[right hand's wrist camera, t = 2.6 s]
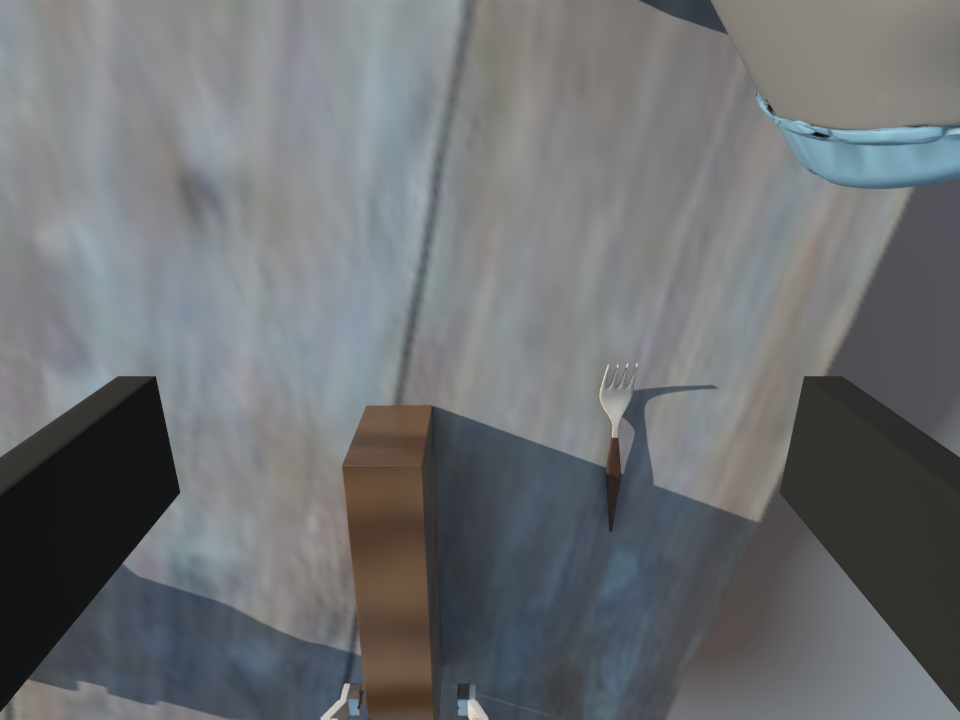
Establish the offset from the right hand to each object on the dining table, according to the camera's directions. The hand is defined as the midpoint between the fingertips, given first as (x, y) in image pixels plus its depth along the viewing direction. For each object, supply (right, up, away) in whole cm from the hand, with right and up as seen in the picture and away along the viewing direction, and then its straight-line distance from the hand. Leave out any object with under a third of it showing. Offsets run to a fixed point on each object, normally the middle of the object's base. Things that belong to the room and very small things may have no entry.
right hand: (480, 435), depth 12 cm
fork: (+11, -5, +37) cm, 39 cm away
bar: (-6, -15, +40) cm, 44 cm away
